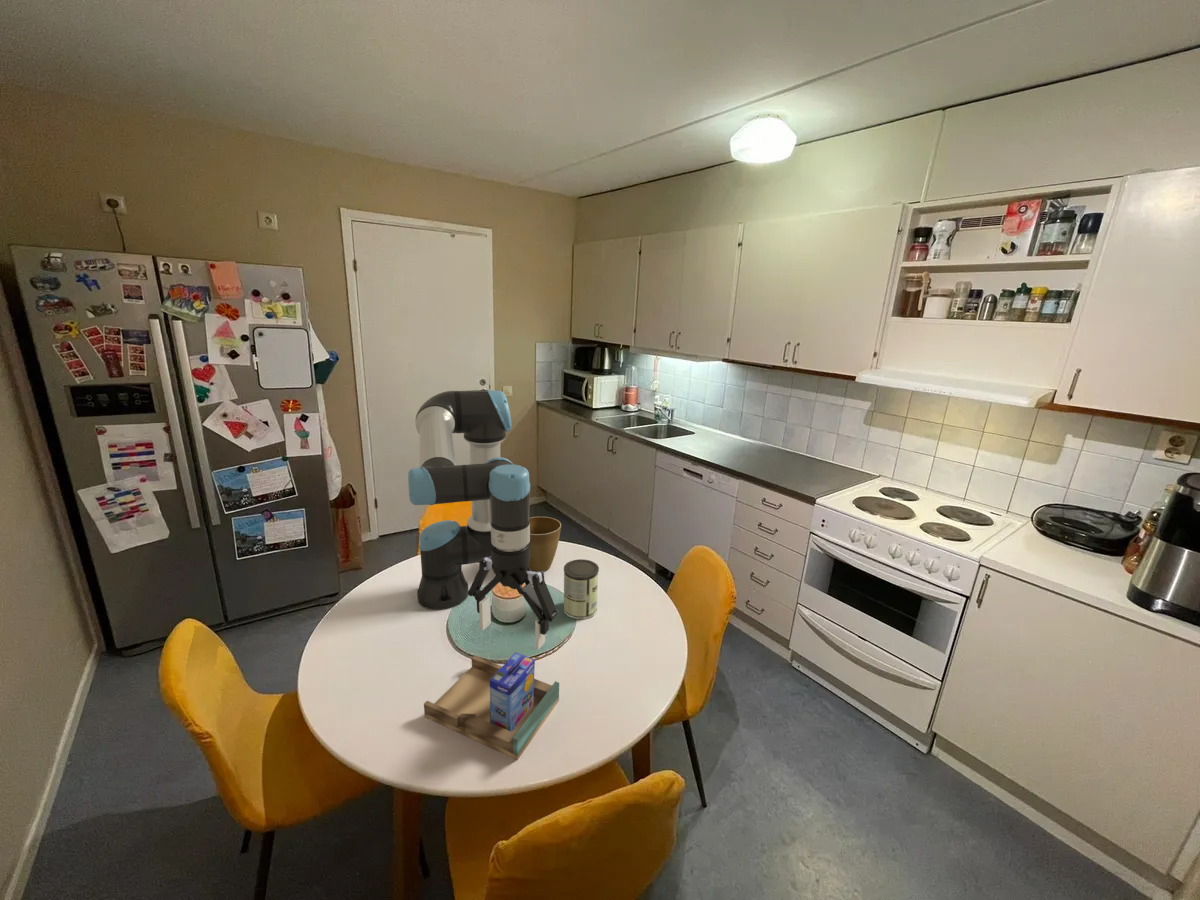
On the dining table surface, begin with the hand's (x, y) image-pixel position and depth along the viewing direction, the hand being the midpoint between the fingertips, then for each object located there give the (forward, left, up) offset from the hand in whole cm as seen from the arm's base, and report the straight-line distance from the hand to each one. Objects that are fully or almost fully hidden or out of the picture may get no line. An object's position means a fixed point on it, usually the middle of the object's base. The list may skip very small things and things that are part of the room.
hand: (512, 635), depth 101 cm
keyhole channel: (-5, 0, -21) cm, 21 cm away
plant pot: (-29, +58, -21) cm, 68 cm away
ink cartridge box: (0, -1, -20) cm, 20 cm away
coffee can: (-5, +42, -21) cm, 47 cm away
